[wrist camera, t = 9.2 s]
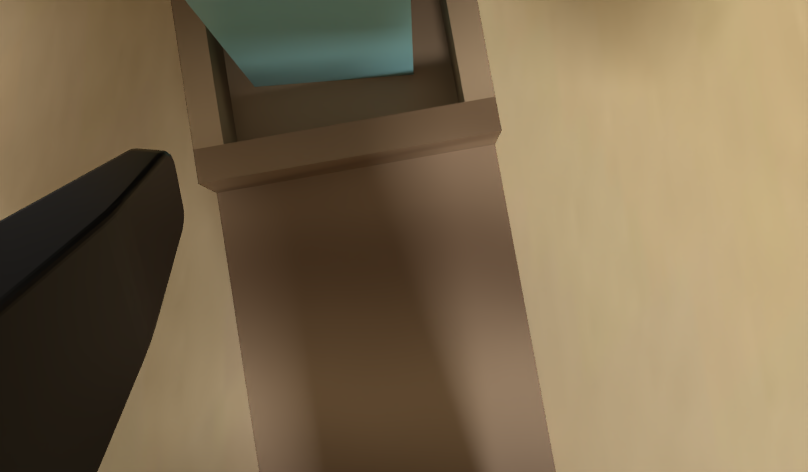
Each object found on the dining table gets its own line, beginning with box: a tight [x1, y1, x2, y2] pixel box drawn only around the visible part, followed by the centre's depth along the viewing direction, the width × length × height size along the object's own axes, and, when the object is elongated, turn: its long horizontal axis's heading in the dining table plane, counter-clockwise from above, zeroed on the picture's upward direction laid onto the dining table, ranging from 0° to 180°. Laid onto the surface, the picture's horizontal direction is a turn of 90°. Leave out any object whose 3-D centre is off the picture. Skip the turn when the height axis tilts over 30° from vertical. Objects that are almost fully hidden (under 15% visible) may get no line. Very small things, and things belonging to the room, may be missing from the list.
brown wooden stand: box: [171, 0, 556, 472], centre depth 13 cm, size 22×7×14 cm, turn 10°
